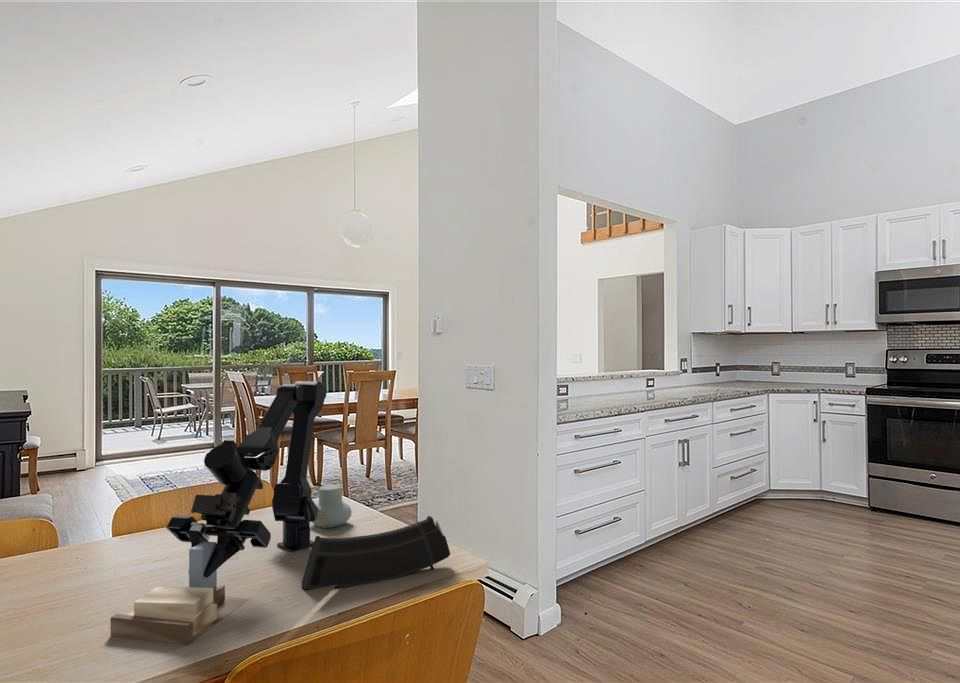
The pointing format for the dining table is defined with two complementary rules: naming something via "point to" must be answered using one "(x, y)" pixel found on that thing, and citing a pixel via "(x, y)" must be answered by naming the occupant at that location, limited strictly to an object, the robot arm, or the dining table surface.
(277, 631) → the dining table surface
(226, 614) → the walnut rack
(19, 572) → the dining table surface
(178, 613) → the offcut stack
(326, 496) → the air freshener
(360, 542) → the magazine
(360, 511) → the dining table surface
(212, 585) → the tall board
